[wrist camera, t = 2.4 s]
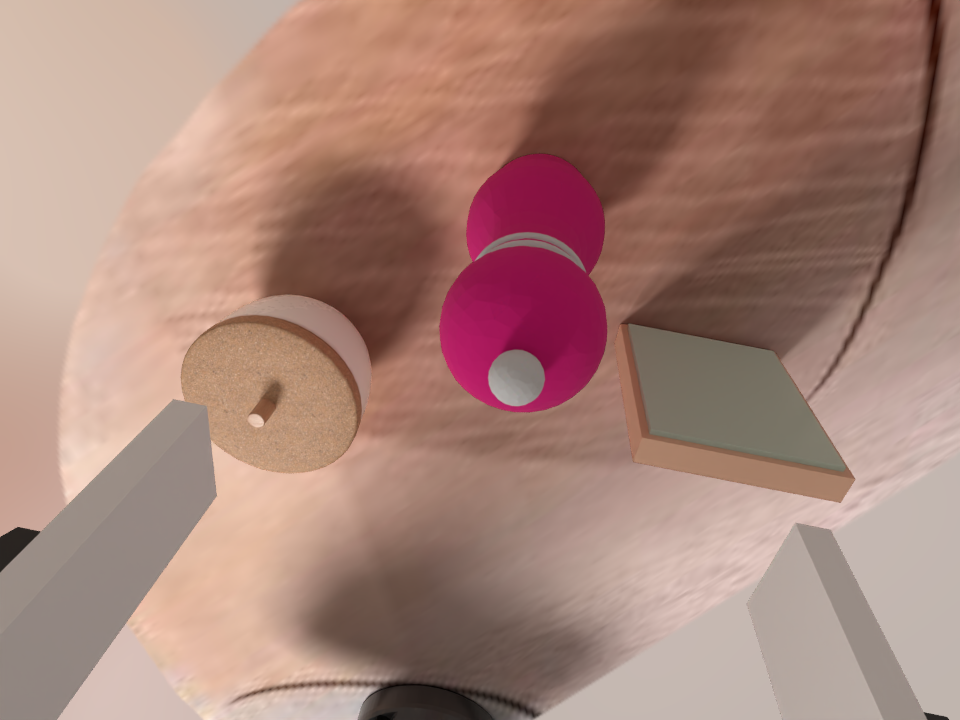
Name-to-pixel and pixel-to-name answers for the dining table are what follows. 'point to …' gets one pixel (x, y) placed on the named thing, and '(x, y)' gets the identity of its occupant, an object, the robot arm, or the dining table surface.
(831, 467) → the tile
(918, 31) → the dining table surface
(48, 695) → the robot arm
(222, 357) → the lidded jar
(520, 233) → the pepper mill
